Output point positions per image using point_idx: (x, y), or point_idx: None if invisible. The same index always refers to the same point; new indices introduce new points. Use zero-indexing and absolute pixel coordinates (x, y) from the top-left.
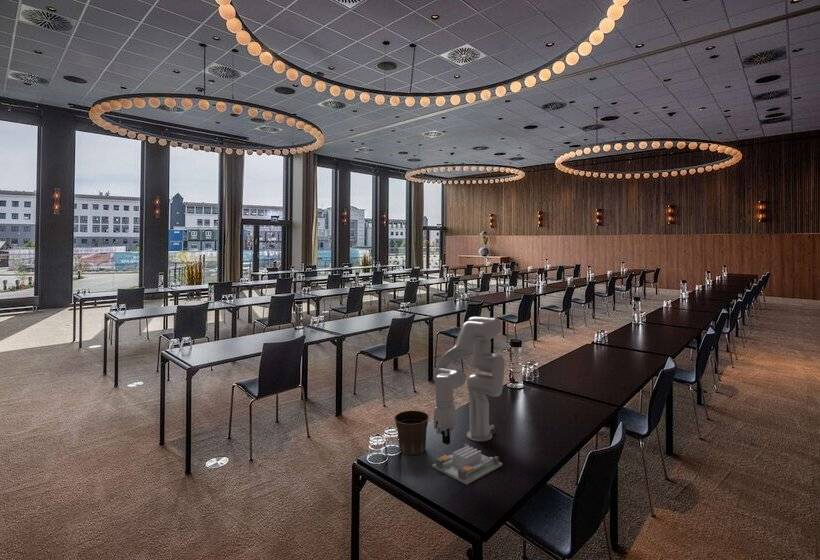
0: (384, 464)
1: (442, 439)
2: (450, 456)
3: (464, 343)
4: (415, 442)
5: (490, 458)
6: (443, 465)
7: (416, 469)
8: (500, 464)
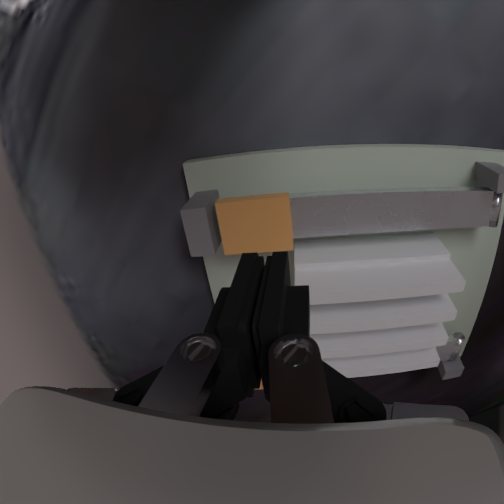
0: (20, 23)
1: (235, 273)
2: (320, 212)
3: None
4: None
5: (448, 350)
6: None
7: (101, 135)
8: None
